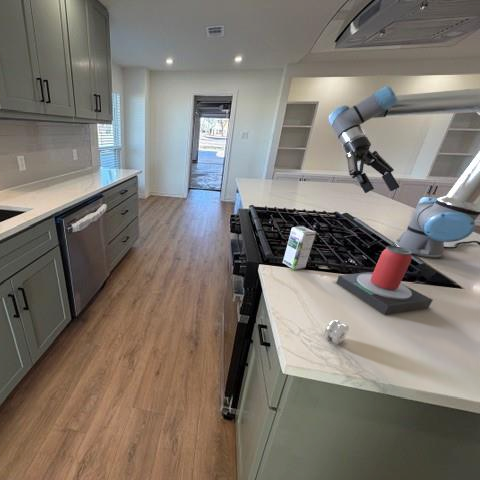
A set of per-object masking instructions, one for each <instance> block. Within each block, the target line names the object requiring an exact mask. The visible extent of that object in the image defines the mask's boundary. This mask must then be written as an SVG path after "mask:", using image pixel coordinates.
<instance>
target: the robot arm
mask: <svg viewBox="0 0 480 480" xmlns="http://www.w3.org/2000/svg"><path fill="white" fill-rule="evenodd" d="M468 113H470V114H471V113H477V115H479V116H480V87H478V88H466V89H455V90H443V91H442V90H441V91H433V92H421V93H410V94H398V95H396V94H395V91H394V90H393V88H392V87H390V86H389V85H387V86H384V87H382V88H381V89H378V90H376V91H375V92H374V93H372V94H370V95H369V96H367V97H366V98H363V100H360V102H358V103H356V104H355V105H353V106H351V107H349V105H342V106H341V107H339V106H338V107H337V108H336V109H334V110H333V111H332V112H331V113H330V115H329V116H328V122H329V124H330V126H331V128H332V130H333V132H334V135H336V137H337V139H338V140H339V142H340V145H341V146H342V147H343V148H344V152H345V153H346V154H345V157H346V160H347V168H348V174H349V176H350V177H351V179H355V178H356V179H357V182H358V183H359V185H360V187H361V189H362V190H363V192H364V194H367V193H369V192H371V191H372V190H375V188H374V186H373V184H372V182H371V180H370V179H369V177H368V176H367V173H366V172H364V166H365V165H366V166H368V167H371V168H372V169H374V170H375V171H376V172H378V173H379V174H381V178H382V180H383V181H384V183H385V185H386V186H387V188H388V190H389V191H390V192H393V191H395V190H397V189H399V188H400V185H399V183H398V182H397V180H396V179H395V177H394V176H393V174H392V172H394V170H395V169H394V168H393V167H392V166H391V165H390V164H389V163H388V162H387V161H386V160H385V159H384V158H383V157H382V156H381V155H380V154H379V152H378V151H376V150H374V151H371V150H370V148H371V146H372V143H371V141H370V140H369V138H368V137H367V134H366V133H365V131H364V129H363V128H362V126H361V125H362V124H364V123H366V122H367V121H369V120H371V119H376V118H378V119H379V118H393V117H410V116H411V117H413V116H430V115H432V116H433V115H449V114H468ZM479 216H480V151H478V153H477V154H476V156H475V157H474V158H473V160H472V161H471V162H470V164H469V166H468V167H466V169H465V170H464V172H463V173H462V174H461V176H460V177H459V178H458V180H457V181H456V182H455V184H453V187H452V188H451V189H450V191H449V192H448V193H447V195H444V196H441V197H438V198H437V197H428V196H426V197H425V196H424V197H421V198H420V199H419V201H418V203H417V206H416V208H415V209H414V212H413V214H412V216H411V219H410V220H409V223H408V225H407V228H406V230H405V231H404V232H403V233H402V234H401V235H399V237H398V238H397V239H396V240H395V241H394V244H393V246H396V245H397V246H398V247H402V248H405V249H408V250H410V251H411V252H412V254H411V255H413V256H417V257H421V258H427V259H440V258H442V256H443V254H444V249H448V250H454V249H458V247H459V245H463V244H473V243H476V244H477V245H480V241H479V240H469V241H462V240H465V239H466V238H468V237H470V235H472V234H473V232H474V231H475V228H476V221H475V220H477V219H478V217H479ZM459 241H460V242H459ZM454 242H456V243H455V245H454V246H445V243H454ZM395 244H396V245H395Z"/></svg>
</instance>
